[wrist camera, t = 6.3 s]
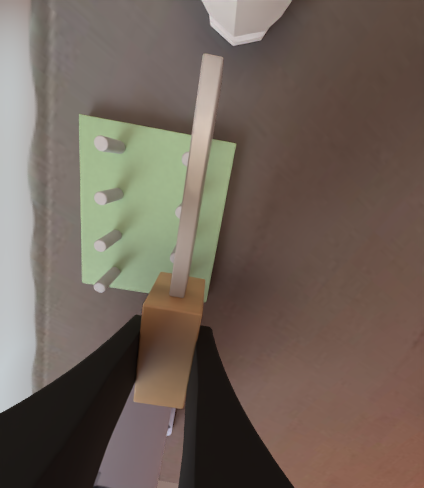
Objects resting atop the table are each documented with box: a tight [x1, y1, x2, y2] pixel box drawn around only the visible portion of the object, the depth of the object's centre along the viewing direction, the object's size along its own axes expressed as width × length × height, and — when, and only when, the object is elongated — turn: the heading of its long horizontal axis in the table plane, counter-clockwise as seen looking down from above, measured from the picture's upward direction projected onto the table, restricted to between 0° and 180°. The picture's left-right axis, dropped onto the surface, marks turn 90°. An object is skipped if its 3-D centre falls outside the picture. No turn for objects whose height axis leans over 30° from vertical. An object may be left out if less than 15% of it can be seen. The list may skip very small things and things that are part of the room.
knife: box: [133, 53, 223, 409], centre depth 9 cm, size 13×2×3 cm, turn 170°
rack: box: [79, 114, 236, 302], centre depth 15 cm, size 12×10×4 cm
